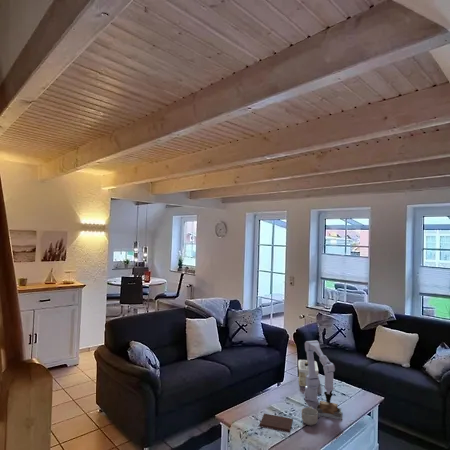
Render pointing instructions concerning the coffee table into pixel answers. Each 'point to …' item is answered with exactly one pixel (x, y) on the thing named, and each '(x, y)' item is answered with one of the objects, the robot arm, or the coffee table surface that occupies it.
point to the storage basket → (305, 371)
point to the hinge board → (336, 414)
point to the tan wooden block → (328, 407)
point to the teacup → (309, 416)
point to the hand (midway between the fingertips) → (328, 400)
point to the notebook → (276, 422)
